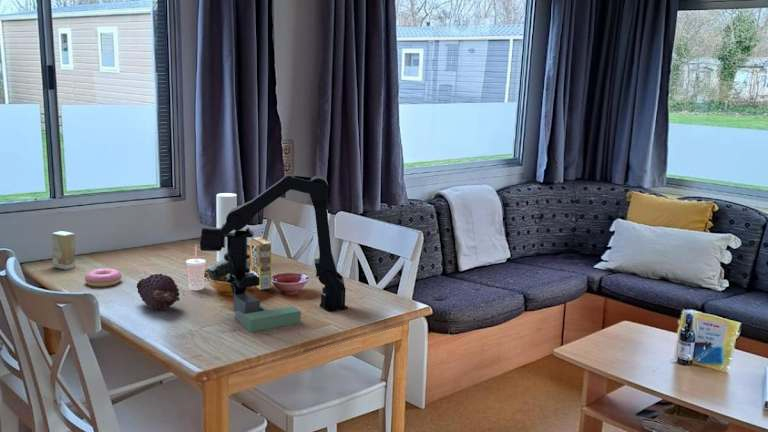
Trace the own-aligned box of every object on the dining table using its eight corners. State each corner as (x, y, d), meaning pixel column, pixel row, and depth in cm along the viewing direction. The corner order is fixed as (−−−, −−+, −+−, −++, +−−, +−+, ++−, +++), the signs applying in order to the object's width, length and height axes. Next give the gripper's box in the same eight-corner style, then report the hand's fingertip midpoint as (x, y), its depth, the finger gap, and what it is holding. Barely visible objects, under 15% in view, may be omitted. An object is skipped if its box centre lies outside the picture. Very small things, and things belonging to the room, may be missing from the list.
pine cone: (125, 304, 198) (124, 271, 196) (155, 297, 205) (154, 265, 203) (162, 318, 187) (161, 284, 185) (191, 310, 195) (191, 277, 193)
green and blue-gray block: (281, 310, 198) (281, 298, 198) (300, 322, 189) (300, 310, 188) (233, 318, 190) (233, 306, 189) (250, 332, 180) (250, 319, 180)
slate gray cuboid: (248, 308, 199) (248, 292, 198) (259, 317, 192) (260, 300, 192) (233, 311, 196) (233, 294, 195) (245, 319, 190) (245, 302, 189)
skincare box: (52, 267, 231) (50, 232, 229) (62, 264, 235) (60, 230, 233) (66, 270, 229) (64, 235, 227) (76, 267, 233) (75, 232, 231)
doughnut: (77, 284, 215) (76, 271, 214) (105, 276, 224) (105, 264, 224) (101, 290, 210) (100, 277, 209) (129, 282, 219) (128, 269, 219)
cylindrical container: (240, 261, 250) (240, 194, 245) (226, 265, 244) (226, 197, 239) (226, 258, 253) (226, 192, 249) (212, 261, 247) (212, 194, 243)
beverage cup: (209, 288, 216) (209, 246, 213) (193, 292, 212) (192, 248, 209) (199, 284, 220) (199, 242, 217) (182, 287, 216) (182, 245, 213)
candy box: (271, 288, 219) (272, 242, 216) (259, 290, 216) (259, 244, 213) (260, 281, 226) (261, 237, 223) (248, 283, 224) (249, 238, 221)
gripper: (199, 247, 199) (199, 297, 202) (223, 261, 184) (223, 316, 187) (234, 243, 206) (234, 292, 209) (260, 257, 191) (260, 309, 194)
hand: (237, 302), depth 199 cm, fingers closed
